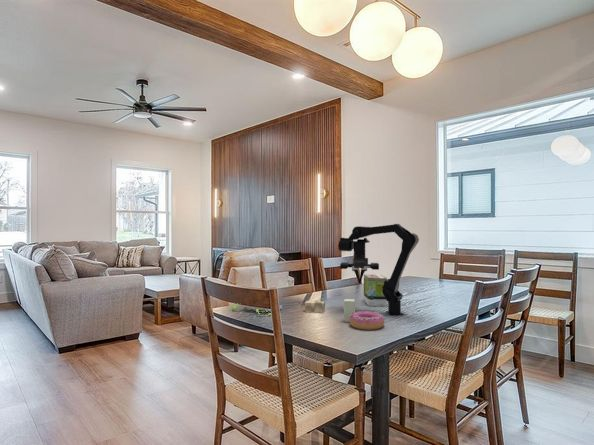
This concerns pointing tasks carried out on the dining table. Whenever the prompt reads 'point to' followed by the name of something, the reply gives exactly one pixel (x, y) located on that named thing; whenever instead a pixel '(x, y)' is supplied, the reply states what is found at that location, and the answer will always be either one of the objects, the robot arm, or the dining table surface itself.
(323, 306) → the maple block
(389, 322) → the dining table surface
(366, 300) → the tea box
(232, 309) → the figurine
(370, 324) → the donut
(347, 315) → the sage block
